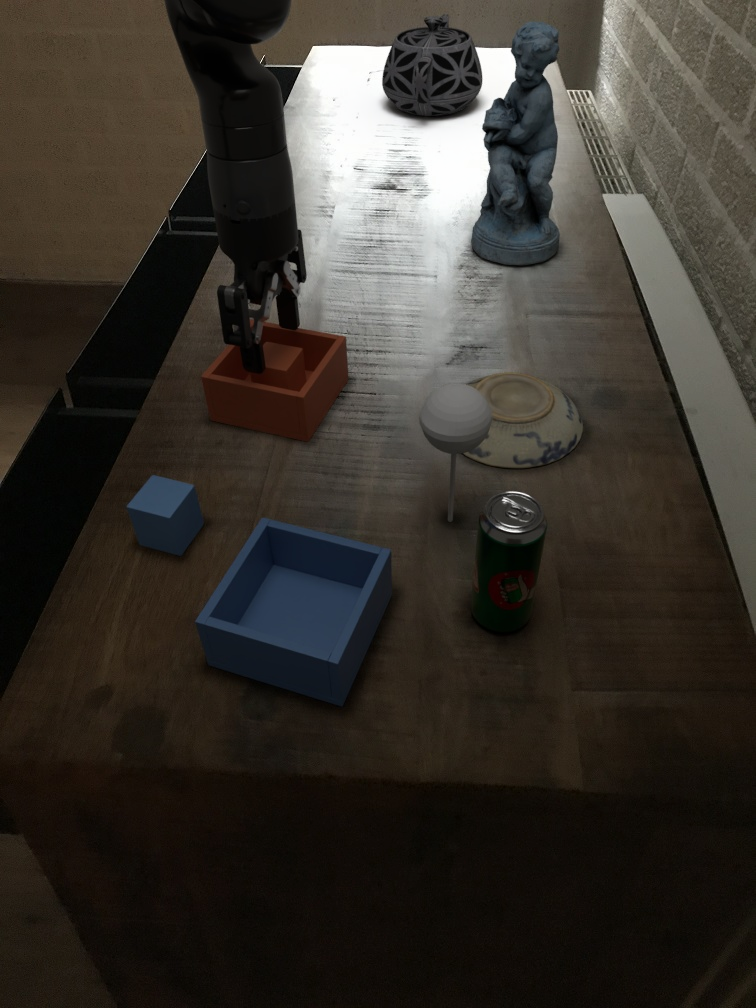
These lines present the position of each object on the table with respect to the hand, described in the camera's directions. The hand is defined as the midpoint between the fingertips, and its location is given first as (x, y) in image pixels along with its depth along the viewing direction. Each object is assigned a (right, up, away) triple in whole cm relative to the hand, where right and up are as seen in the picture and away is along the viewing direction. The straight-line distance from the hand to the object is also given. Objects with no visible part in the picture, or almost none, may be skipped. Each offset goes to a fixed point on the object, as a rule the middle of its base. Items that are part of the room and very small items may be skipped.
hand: (272, 348), depth 84 cm
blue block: (-8, -19, -10) cm, 23 cm away
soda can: (+21, -26, -17) cm, 37 cm away
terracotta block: (0, -4, +4) cm, 6 cm away
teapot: (+22, +62, +72) cm, 97 cm away
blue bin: (+5, -27, -18) cm, 32 cm away
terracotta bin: (0, -5, +5) cm, 7 cm away
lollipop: (+18, -18, -9) cm, 27 cm away
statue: (+30, +21, +30) cm, 48 cm away
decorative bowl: (+25, -8, +1) cm, 26 cm away
